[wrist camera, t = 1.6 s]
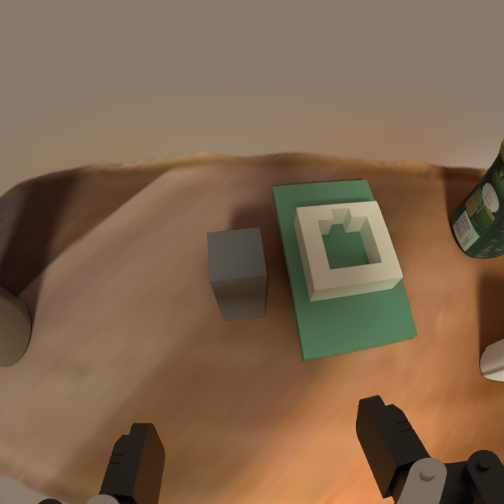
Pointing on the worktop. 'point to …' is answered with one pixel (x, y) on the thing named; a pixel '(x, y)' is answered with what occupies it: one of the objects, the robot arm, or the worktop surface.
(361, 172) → the worktop surface
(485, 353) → the photo printer
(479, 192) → the coffee jar
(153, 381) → the worktop surface
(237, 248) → the plug
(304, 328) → the header board
